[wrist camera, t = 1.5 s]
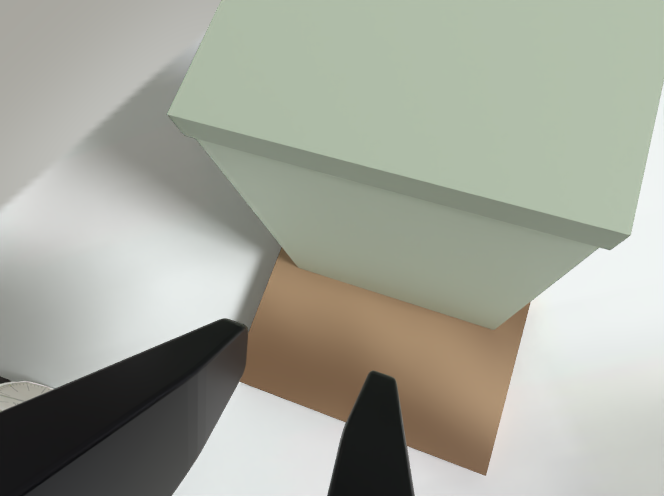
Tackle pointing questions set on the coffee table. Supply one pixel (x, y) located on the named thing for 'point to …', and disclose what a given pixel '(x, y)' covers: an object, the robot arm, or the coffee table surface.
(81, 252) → the coffee table surface
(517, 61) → the tea caddy
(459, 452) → the walnut board
